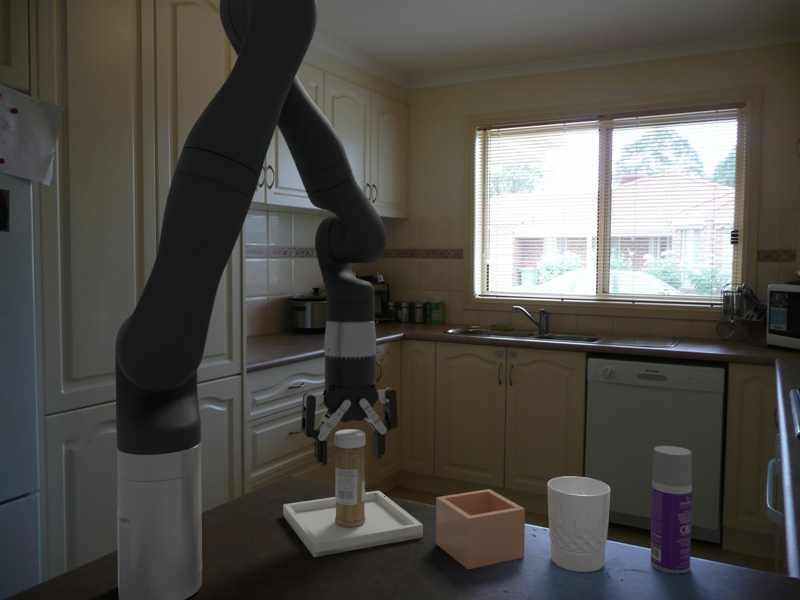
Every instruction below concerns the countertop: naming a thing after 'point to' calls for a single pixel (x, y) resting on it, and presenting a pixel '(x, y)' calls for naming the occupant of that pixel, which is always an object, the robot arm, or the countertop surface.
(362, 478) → the sprinkles bottle
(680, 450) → the container
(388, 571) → the countertop surface
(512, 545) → the pot
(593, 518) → the white cup
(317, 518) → the tray
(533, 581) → the countertop surface
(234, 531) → the countertop surface
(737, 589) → the countertop surface
